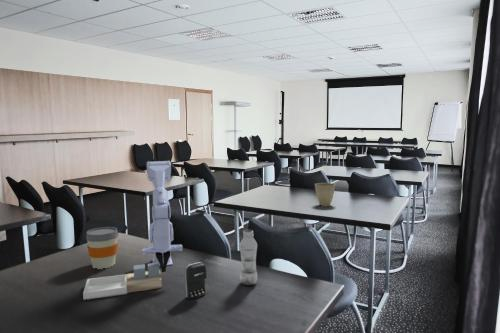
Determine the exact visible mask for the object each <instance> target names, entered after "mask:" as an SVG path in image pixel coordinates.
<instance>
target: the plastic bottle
mask: <svg viewBox="0 0 500 333" xmlns="http://www.w3.org/2000/svg"><path fill="white" fill-rule="evenodd" d="M242 234H243V235H242V237H243V238H242V239H241V241H240V243H239V251H240V259H241V263H240V264H241V265H240V272H239V280H240V283H242V284H243V285H245V286H252V285H255V284H256V283H257V281H258V272H257V252H258V243H257V241H256V239H255V238H254V230H253V229H243V231H242Z"/></svg>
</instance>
